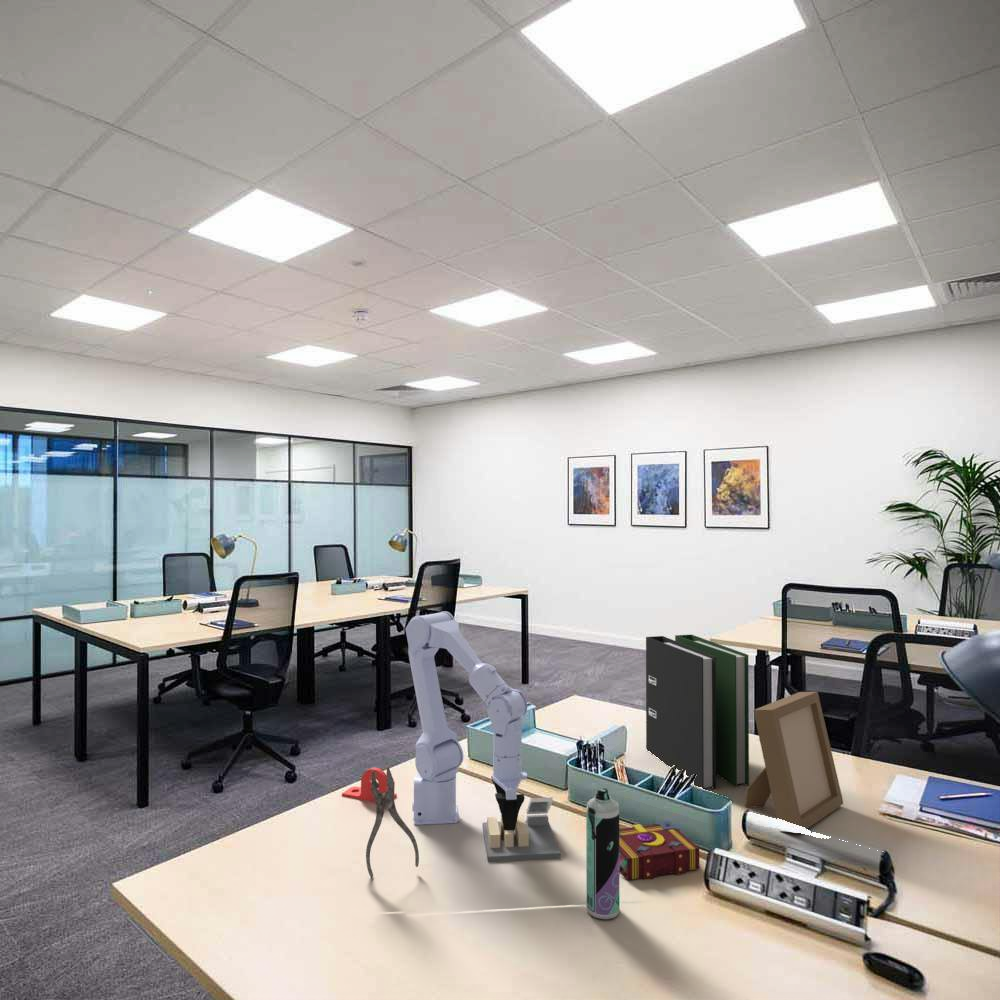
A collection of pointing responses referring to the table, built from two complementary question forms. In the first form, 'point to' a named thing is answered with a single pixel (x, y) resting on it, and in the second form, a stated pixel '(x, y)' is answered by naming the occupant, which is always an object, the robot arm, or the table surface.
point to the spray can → (602, 856)
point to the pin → (503, 830)
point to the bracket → (368, 786)
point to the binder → (698, 708)
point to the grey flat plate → (539, 805)
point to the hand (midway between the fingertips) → (507, 820)
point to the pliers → (383, 803)
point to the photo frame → (795, 761)
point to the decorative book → (655, 851)
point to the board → (525, 853)
